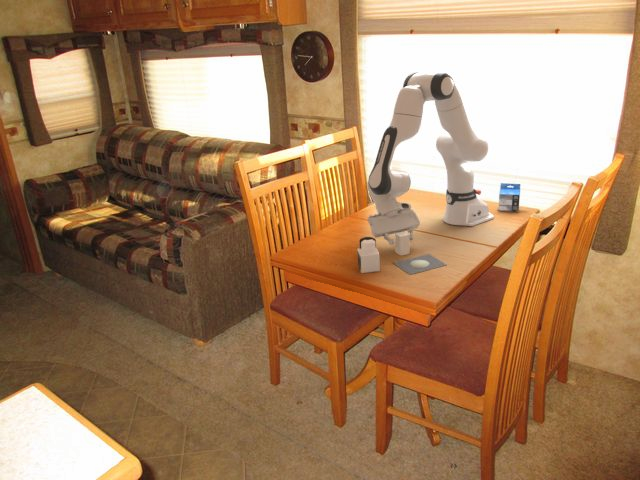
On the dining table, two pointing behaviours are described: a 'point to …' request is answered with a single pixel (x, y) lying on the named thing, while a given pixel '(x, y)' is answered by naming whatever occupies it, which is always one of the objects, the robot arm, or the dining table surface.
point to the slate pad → (419, 264)
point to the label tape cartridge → (509, 197)
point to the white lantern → (368, 255)
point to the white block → (402, 243)
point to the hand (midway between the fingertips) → (402, 241)
